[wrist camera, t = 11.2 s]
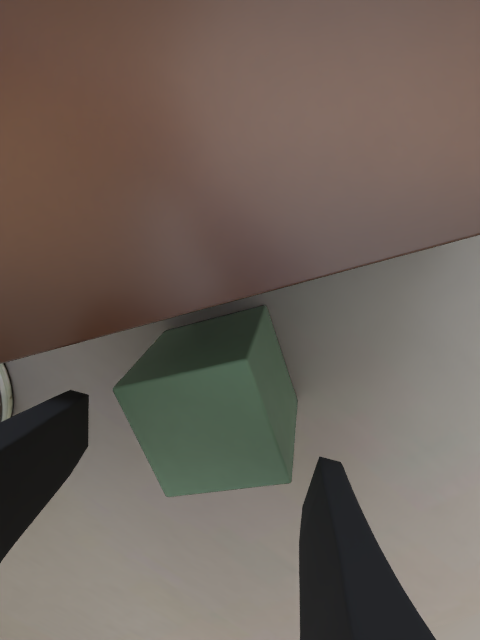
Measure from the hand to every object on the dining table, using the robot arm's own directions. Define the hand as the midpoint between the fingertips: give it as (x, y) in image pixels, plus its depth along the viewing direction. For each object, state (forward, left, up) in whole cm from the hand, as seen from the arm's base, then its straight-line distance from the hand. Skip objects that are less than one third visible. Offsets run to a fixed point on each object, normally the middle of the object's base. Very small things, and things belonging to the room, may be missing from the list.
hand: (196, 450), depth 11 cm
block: (0, 0, -5) cm, 5 cm away
